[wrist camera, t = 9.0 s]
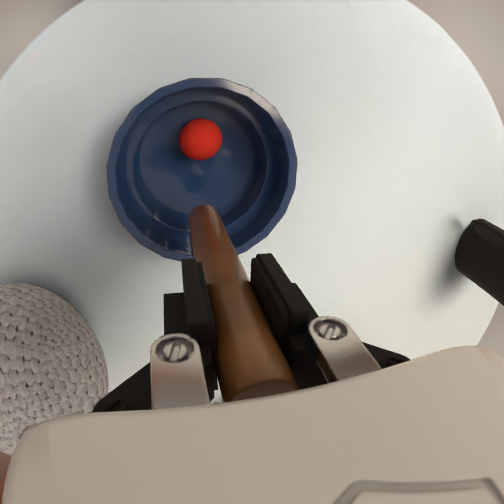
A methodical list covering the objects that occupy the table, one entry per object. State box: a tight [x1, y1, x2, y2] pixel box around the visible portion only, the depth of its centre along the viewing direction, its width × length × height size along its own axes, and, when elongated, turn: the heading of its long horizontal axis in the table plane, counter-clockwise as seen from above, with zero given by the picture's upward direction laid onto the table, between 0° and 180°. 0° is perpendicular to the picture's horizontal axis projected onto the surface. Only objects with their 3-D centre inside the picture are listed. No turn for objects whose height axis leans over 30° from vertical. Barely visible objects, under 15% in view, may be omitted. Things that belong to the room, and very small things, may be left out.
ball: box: [179, 118, 222, 160], centre depth 21 cm, size 3×3×3 cm
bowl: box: [107, 78, 297, 261], centre depth 21 cm, size 12×12×5 cm
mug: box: [455, 219, 504, 306], centre depth 30 cm, size 8×12×10 cm
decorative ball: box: [0, 283, 108, 456], centre depth 19 cm, size 15×15×15 cm
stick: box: [188, 205, 300, 403], centre depth 13 cm, size 2×2×14 cm
